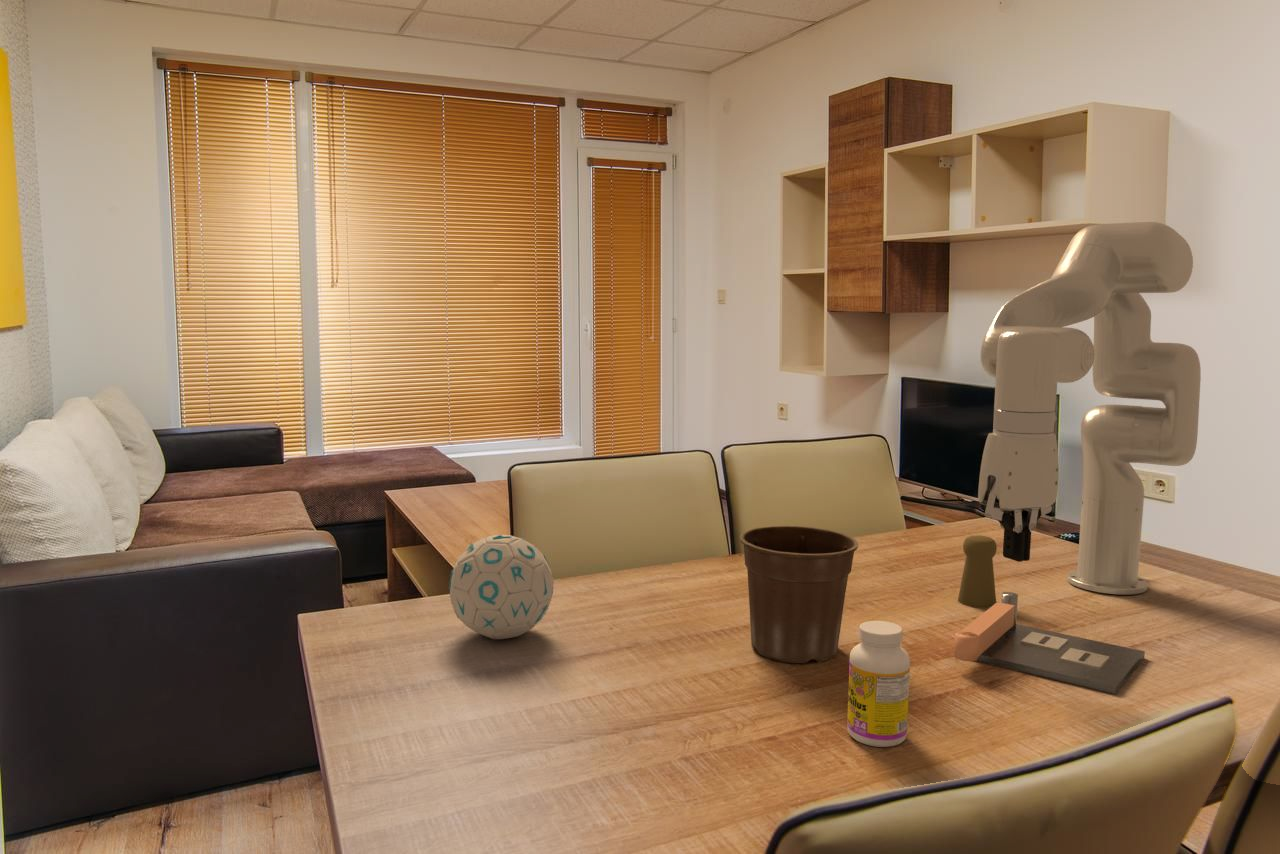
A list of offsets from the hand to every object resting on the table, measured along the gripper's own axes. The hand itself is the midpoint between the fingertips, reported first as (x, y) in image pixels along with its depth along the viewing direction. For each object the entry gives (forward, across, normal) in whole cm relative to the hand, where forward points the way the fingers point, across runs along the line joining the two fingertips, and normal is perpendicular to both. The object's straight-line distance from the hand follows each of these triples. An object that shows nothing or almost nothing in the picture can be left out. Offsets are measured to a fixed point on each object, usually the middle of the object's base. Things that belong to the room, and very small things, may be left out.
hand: (1016, 558), depth 128 cm
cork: (+15, -16, -23) cm, 31 cm away
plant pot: (+15, +24, -16) cm, 33 cm away
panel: (+15, -7, 0) cm, 16 cm away
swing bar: (+13, +1, -4) cm, 13 cm away
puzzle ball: (+15, +60, -38) cm, 73 cm away
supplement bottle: (+15, +30, +10) cm, 35 cm away
